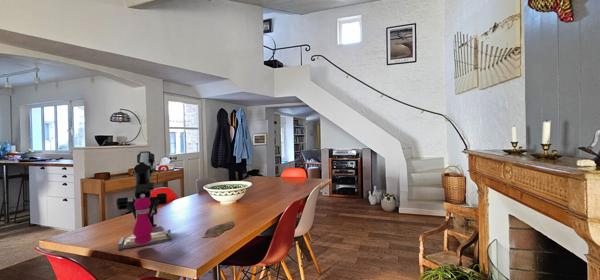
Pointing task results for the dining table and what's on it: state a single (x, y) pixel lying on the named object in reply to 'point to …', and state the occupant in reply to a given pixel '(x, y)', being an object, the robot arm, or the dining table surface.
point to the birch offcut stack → (155, 237)
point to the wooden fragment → (218, 229)
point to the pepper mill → (142, 220)
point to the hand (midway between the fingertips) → (142, 218)
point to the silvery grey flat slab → (121, 243)
